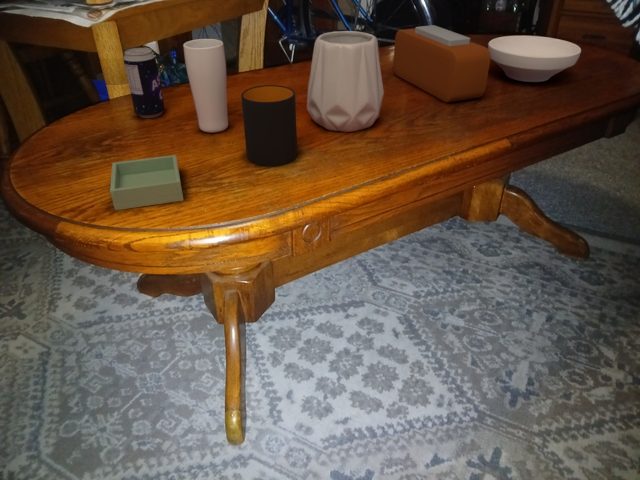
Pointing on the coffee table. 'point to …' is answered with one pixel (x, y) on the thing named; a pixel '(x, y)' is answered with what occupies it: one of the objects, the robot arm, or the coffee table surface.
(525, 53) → the bowl
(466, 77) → the brown rounded block
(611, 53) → the coffee table surface
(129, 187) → the tray
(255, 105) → the mug
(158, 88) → the beverage can
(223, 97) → the drinking glass
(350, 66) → the vase
